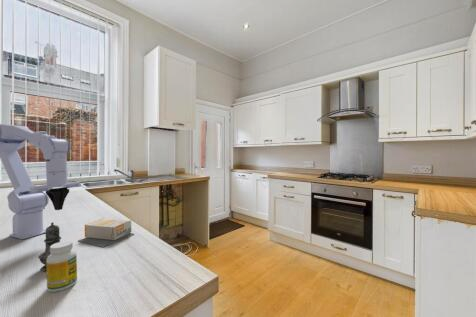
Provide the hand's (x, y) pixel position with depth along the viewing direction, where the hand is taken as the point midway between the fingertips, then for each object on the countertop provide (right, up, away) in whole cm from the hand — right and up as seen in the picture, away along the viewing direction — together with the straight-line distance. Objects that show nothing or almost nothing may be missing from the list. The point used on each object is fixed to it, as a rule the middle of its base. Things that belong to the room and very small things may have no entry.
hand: (58, 209), depth 77 cm
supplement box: (+11, -8, +3) cm, 13 cm away
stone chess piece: (+15, -11, -19) cm, 27 cm away
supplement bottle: (+24, -11, -28) cm, 39 cm away
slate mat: (+17, -10, 0) cm, 20 cm away
